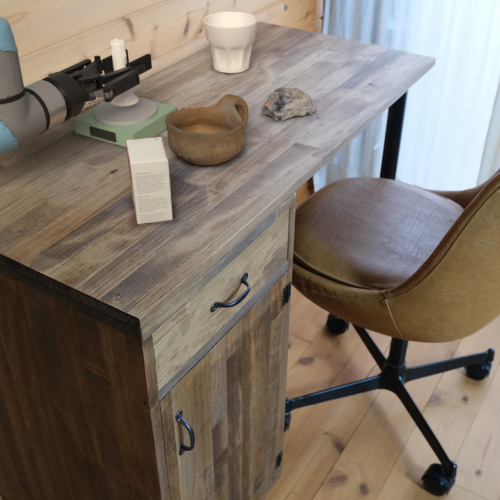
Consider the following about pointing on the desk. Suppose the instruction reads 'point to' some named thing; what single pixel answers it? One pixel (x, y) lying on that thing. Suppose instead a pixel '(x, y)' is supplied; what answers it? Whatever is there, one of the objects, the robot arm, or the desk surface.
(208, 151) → the bowl
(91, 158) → the desk surface
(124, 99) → the candle
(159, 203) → the small box
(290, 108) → the mineral specimen
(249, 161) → the desk surface
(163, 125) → the scale
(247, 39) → the cup
